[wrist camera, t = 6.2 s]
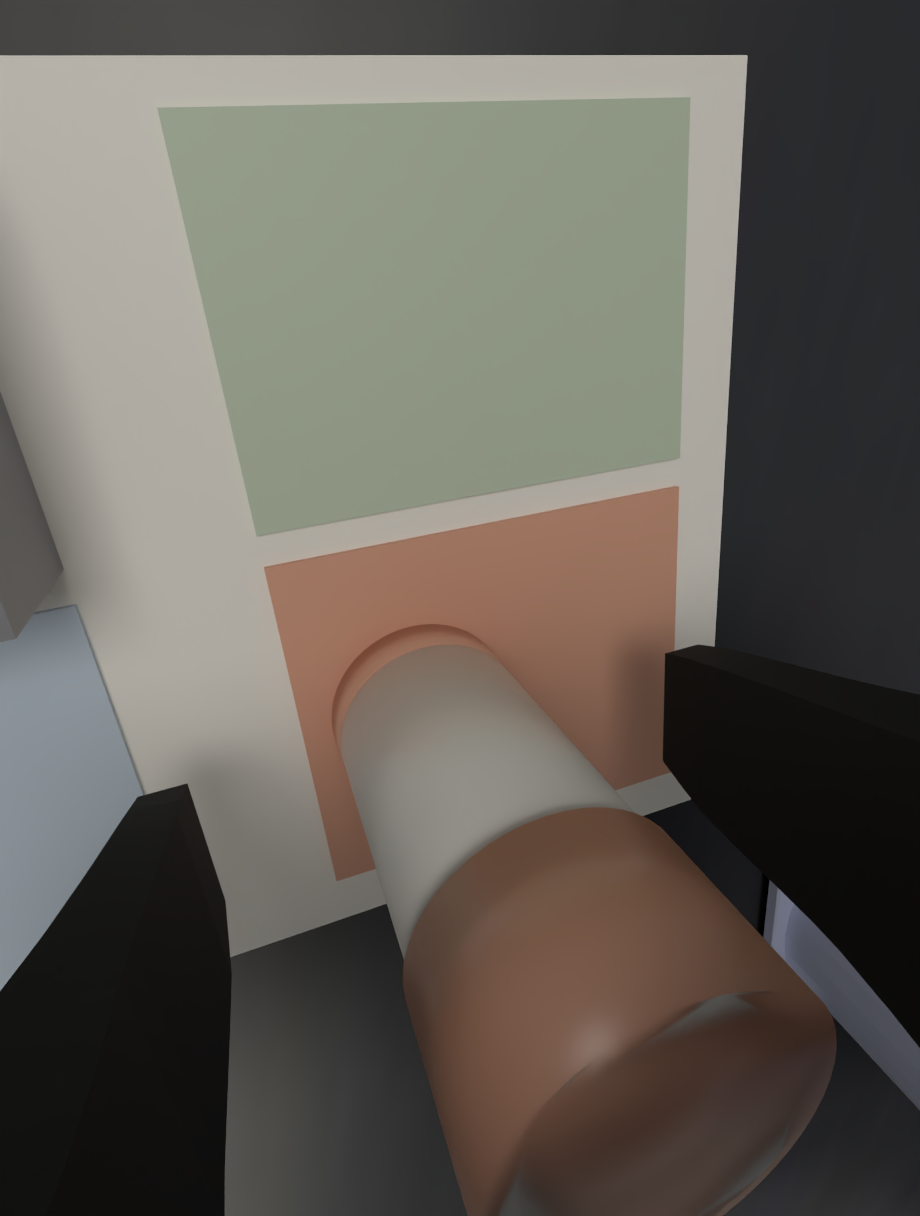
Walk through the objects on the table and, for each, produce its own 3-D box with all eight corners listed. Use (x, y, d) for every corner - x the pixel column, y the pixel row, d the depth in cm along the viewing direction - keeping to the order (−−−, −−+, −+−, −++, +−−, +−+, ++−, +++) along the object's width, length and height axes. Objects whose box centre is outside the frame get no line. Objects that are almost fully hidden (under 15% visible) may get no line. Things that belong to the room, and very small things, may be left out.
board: (701, 80, 10) (752, 52, 9) (678, 768, 15) (709, 796, 14) (-772, 97, 6) (-957, 49, 5) (-133, 1033, 11) (-165, 1097, 10)
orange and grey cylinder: (502, 600, 11) (862, 921, 5) (514, 759, 12) (812, 1174, 6) (310, 644, 10) (451, 1096, 4) (344, 810, 11) (491, 1346, 5)
